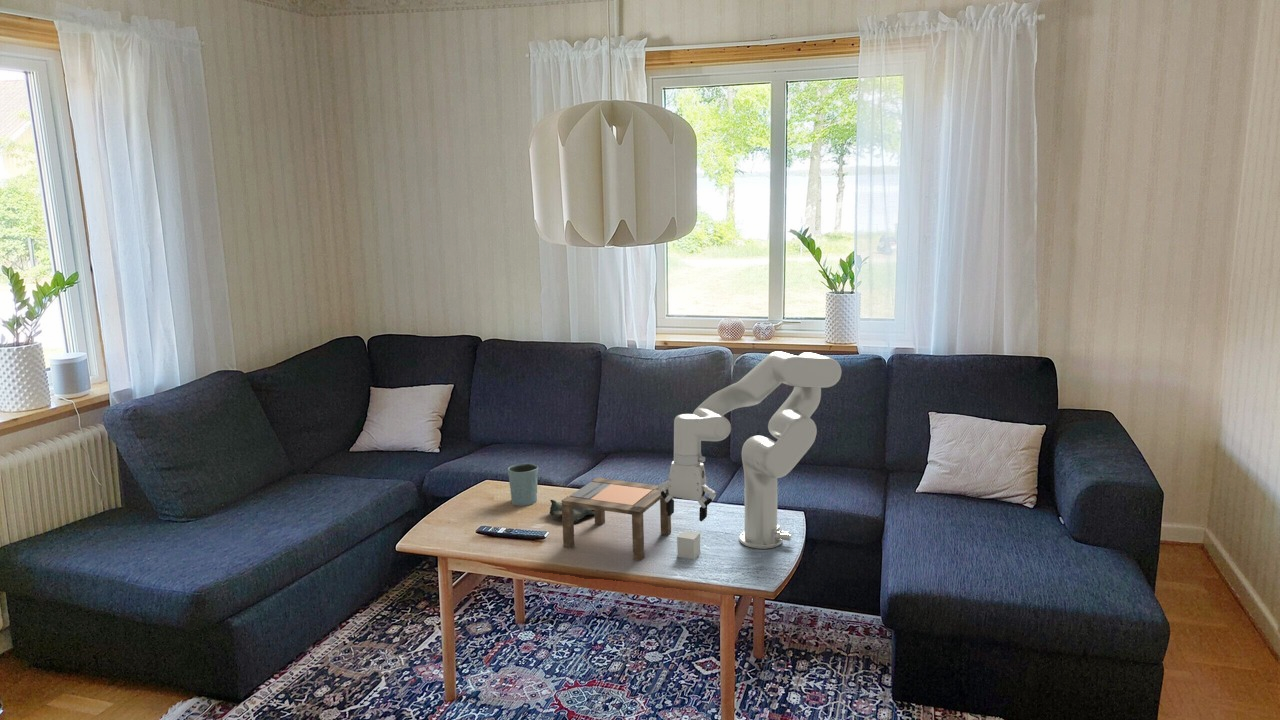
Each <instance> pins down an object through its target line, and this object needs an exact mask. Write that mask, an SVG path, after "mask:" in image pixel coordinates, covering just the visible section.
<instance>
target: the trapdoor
mask: <svg viewBox="0 0 1280 720" xmlns="http://www.w3.org/2000/svg"><path fill="white" fill-rule="evenodd" d="M652 491H653V490H652V489H644V488H637V487H629V486H622V485H614V484H605V483H597V482H591V481H590V482H589V483H587V484H586V485H584V486H582V487H581V488H579V489H577V490H576V491H575V492H573V493H572V494H570V495H569V497H576V498H583V499H590V500H597V501H604V502H610V503H617V504H624V505H631V506H634V505H635V504H636V503H638V502H639V501H640V500H642V499H643V498H644V497H645V496H647V495H648V494H649V493H651V492H652ZM573 509H575V510H582V511H584V510H585V509H586V508H583V507H577V506H573Z"/></svg>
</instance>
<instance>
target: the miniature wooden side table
mask: <svg viewBox="0 0 1280 720" xmlns="http://www.w3.org/2000/svg"><path fill="white" fill-rule="evenodd" d="M590 482H597V483H605V484H614V485H622V486H629V487H637V488H644V489H652V490H653V491H652V492H651V493H649V494H648V495H647V496H645V497H644V498H643V499H642V500H640V501H639V502H638V503H636V504H635V505H634V506H631V505H624V504H617V503H610V502H604V501H597V500H590V499H583V498H576V497H569V496H570V495H569V496H566V497H565V498H562V499H561V503H562V516H561V518H562V519H561V521H562V523H561V525H562V539H563V540H562V541H563V544H562V545H563V546H562V547H563V548H565V549H572V548H573V547H575V546H576V545H575V544H576V543H575V525H574V517H573V506H577V507H583V508H590V509H594V514H593V515H594V524H595V525H598V526H599V525H601V526H602V525H604V524H605V523H606V513H605V512H611V513H618V514H619V513H620V514H625V515H631V527H632V528H631V531H632V532H631V535H632V560H635V561H640V562H642V560H643V559H644V558H645V534H644V531H645V530H644V529H645V528H644V513H645V512H646V511H647V510H650V508H651V507H652V506H654V505H655V504H656V503H657V502H659V505H660V506H659V510H660V512H659V515H660V517H659V518H660V535H661V536H662V535H663V536H669V535H671V533H672V515H671V516H668V515H667V513H668V512H667V511H666V502H665V499H664V498H663V497H662V495H661V492H660V491H659V488H658V485H659V484H649V483H641V482H634V481H626V480H620V479H619V480H618V479H610V478H603V477H595V478H593V480H591V481H590ZM665 490H666V491H667V492H668V486H666V487H665ZM668 494H669V493H668Z"/></svg>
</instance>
